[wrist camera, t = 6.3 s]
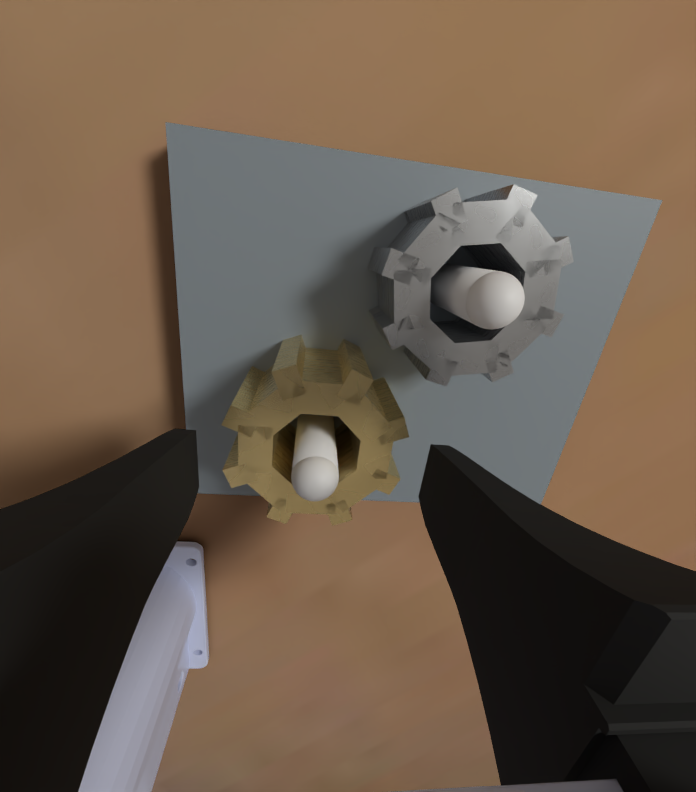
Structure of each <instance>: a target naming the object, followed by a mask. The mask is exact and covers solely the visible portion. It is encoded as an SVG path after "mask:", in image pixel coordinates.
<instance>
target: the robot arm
mask: <svg viewBox="0 0 696 792" xmlns="http://www.w3.org/2000/svg"><path fill="white" fill-rule="evenodd" d="M198 489H199V473H198V455H197V437H196V430H188V429H173V430H171V431H168V432H166V433H164V434H162V435H161V436H159V437H157V438H155V439H153V440H151V441H150V442H148V443H146V444H144V445H142V446H140V447H139V448H137V449H135V450H133V451H131V452H129V453H128V454H126V455H124V456H122V457H120V458H118V459H116V460H115V461H112V462H110V463H108V464H106V465H104V466H102V467H100V468H98V469H96V470H94V471H92V472H90V473H88V474H86V475H84V476H82V477H80V478H78V479H76V480H74V481H71V482H69V483H67V484H65V485H62V486H60V487H58V488H55V489H53V490H50V491H48V492H45V493H43V494H40V495H38V496H36V497H33V498H30V499H28V500H25V501H23V502H20V503H17V504H14V505H11V506H8V507H5V508H2V509H0V792H151V791H152V788H153V785H154V782H155V778H156V775H157V772H158V768H159V765H160V762H161V758H162V755H163V752H164V749H165V745H166V742H167V739H168V735H169V732H170V729H171V726H172V722H173V719H174V716H175V712H176V709H177V706H178V702H179V699H180V696H181V693H182V689H183V686H184V683H185V679H186V676H187V673H188V669H189V668H203V667H205V666H206V665H207V663H208V659H209V645H208V627H207V608H206V590H205V571H204V552H203V547H202V546H201V545H200V544H199V543H197V542H179V541H177V540H178V538H179V536H180V534H181V532H182V530H183V528H184V526H185V524H186V522H187V520H188V518H189V515H190V513H191V510H192V507H193V504H194V501H195V498H196V495H197V492H198ZM418 497H419V501H420V506H421V510H422V514H423V518H424V522H425V525H426V528H427V531H428V533H429V536H430V538H431V541H432V543H433V546H434V549H435V551H436V554H437V556H438V558H439V561H440V563H441V566H442V568H443V571H444V573H445V576H446V578H447V581H448V583H449V586H450V588H451V591H452V594H453V597H454V599H455V602H456V605H457V608H458V612H459V615H460V618H461V622H462V625H463V629H464V632H465V636H466V639H467V643H468V646H469V650H470V654H471V658H472V662H473V665H474V669H475V673H476V677H477V681H478V685H479V689H480V693H481V697H482V701H483V706H484V710H485V714H486V718H487V722H488V727H489V731H490V735H491V740H492V745H493V749H494V754H495V759H496V764H497V768H498V773H499V778H500V782H501V786H480V787H462V788H445V789H428V790H410V791H393V792H696V571H693V570H690V569H687V568H684V567H681V566H678V565H675V564H672V563H669V562H666V561H664V560H661V559H659V558H656V557H653V556H651V555H648V554H645V553H643V552H640V551H638V550H635V549H633V548H630V547H628V546H625V545H623V544H620V543H618V542H616V541H613V540H611V539H609V538H607V537H604V536H602V535H600V534H598V533H596V532H593V531H591V530H589V529H587V528H585V527H583V526H580V525H578V524H576V523H574V522H572V521H570V520H568V519H566V518H565V517H563V516H561V515H559V514H557V513H555V512H553V511H551V510H550V509H548V508H546V507H544V506H542V505H541V504H539V503H537V502H535V501H534V500H532V499H530V498H529V497H527V496H525V495H524V494H522V493H521V492H519V491H517V490H516V489H514V488H513V487H511V486H510V485H508V484H506V483H505V482H503V481H502V480H500V479H499V478H497V477H496V476H495V475H493V474H492V473H490V472H489V471H487V470H486V469H484V468H483V467H481V466H480V465H479V464H477V463H476V462H474V461H473V460H471V459H470V458H469V457H467V456H466V455H464V454H463V453H461V452H460V451H458V450H456V449H455V448H453V447H451V446H449V445H434V444H431V445H430V449H429V454H428V458H427V462H426V466H425V471H424V475H423V479H422V483H421V488H420V492H419V496H418ZM192 559H195V560H192Z"/></svg>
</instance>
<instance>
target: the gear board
mask: <svg viewBox="0 0 696 792" xmlns="http://www.w3.org/2000/svg"><path fill="white" fill-rule="evenodd" d="M166 136H167V151H168V166H169V181H170V196H171V211H172V226H173V241H174V256H175V271H176V286H177V301H178V316H179V331H180V346H181V360H182V375H183V390H184V405H185V420H186V429H188V430H196V437H197V455H198V473H199V489H198V492H197V493H203V494H227V495H252V496H261V495H260V494H259V493H257V492H256V491H255V490H254V489H253V488H252V487H250V486H249V485H248V484H244V485H241V486H237V487H234V488H231V486H230V484H229V482H228V480H227V478H226V476H225V474H224V473H223V471H222V470H223V467H224V465H225V463H226V460H227V458H228V455H229V453H230V451H231V448H232V446H233V444H234V441H235V439H236V437H237V434H238V432H237V431H234V430H232V429H229V428H227V427H225V426H222V422H223V420H224V418H225V416H226V414H227V412H228V410H229V408H230V406H231V404H232V402H233V400H234V398H235V396H236V394H237V393H238V391H239V389H240V387H241V385H242V383H243V382H244V380H245V378H246V376H247V374H248V372H249V370H250V369H251V367H252V366H253V367H255V368H257V369H259V370H261V371H263V372H265V371H266V370H268V369H269V368H270V367H271V366H273V365H274V363H275V361H276V358H277V355H278V352H279V350H280V347H281V344H282V341H283V340H285V339H288V338H292V337H295V336H298V335H302V338H303V341H304V344H305V347H306V348H316V349H327V350H337V349H338V348H339V346H340V344H341V342H342V340H343V339H345V340H347V341H349V342H351V343H353V344H355V345H357V346H358V347H360V349H361V351H362V353H363V356H364V358H365V361H366V363H367V365H368V368H369V370H370V372H371V375H372V377H373V380H376V379H379V378H383V377H384V378H385V380H386V382H387V384H388V386H389V388H390V390H391V392H392V394H393V396H394V398H395V400H396V402H397V404H398V406H399V408H400V410H401V412H402V413H403V415H404V417H405V421H406V426H407V430H408V434H409V437H408V438H405V439H401V440H398V441H394V442H393V446H392V451H391V453H392V456H393V459H394V462H395V465H396V467H397V470H398V473H399V476H400V481H399V482H398V483H397V485H396V486H395V488H394V489H393V491H392V492H391V493H390V495H388V494H386V493H383V492H381V491H378V490H375V491H373V492H372V493H370V494H369V495H367V496H366V497H365V498H363V499H362V500H375V501H399V502H420V501H419V497H418V496H419V492H420V488H421V483H422V479H423V475H424V471H425V466H426V462H427V458H428V454H429V449H430V445H431V444H434V445H449V446H451V447H453V448H455V449H456V450H458V451H460V452H461V453H463V454H464V455H466V456H467V457H469V458H470V459H471V460H473V461H474V462H476V463H477V464H479V465H480V466H481V467H483V468H484V469H486V470H487V471H489V472H490V473H492V474H493V475H495V476H496V477H497V478H499V479H500V480H502V481H503V482H505V483H506V484H508V485H510V486H511V487H513V488H514V489H516V490H517V491H519V492H521V493H522V494H524V495H525V496H527V497H529V498H530V499H532V500H534V501H535V502H537V503H539V504H541V502H542V500H543V497H544V495H545V492H546V490H547V487H548V485H549V482H550V480H551V477H552V475H553V472H554V470H555V467H556V465H557V462H558V460H559V457H560V455H561V452H562V450H563V447H564V445H565V442H566V440H567V437H568V435H569V432H570V430H571V427H572V425H573V422H574V420H575V417H576V415H577V412H578V410H579V407H580V405H581V402H582V400H583V397H584V395H585V392H586V390H587V387H588V385H589V382H590V380H591V377H592V375H593V372H594V370H595V367H596V365H597V362H598V360H599V357H600V355H601V352H602V350H603V347H604V345H605V342H606V340H607V337H608V335H609V332H610V330H611V327H612V325H613V322H614V320H615V317H616V315H617V312H618V310H619V307H620V305H621V302H622V300H623V297H624V295H625V292H626V290H627V287H628V285H629V282H630V280H631V277H632V275H633V272H634V270H635V267H636V265H637V262H638V260H639V257H640V255H641V252H642V250H643V247H644V245H645V242H646V240H647V237H648V235H649V232H650V230H651V227H652V225H653V222H654V220H655V217H656V215H657V212H658V210H659V207H660V205H661V202H662V200H657V199H650V198H644V197H637V196H631V195H625V194H618V193H612V192H606V191H599V190H593V189H587V188H580V187H574V186H568V185H561V184H555V183H549V182H542V181H536V180H529V179H523V178H517V177H510V176H504V175H498V174H491V173H485V172H479V171H472V170H466V169H460V168H453V167H447V166H441V165H434V164H428V163H422V162H415V161H409V160H402V159H396V158H390V157H383V156H377V155H371V154H364V153H358V152H352V151H345V150H339V149H333V148H326V147H320V146H314V145H307V144H301V143H294V142H288V141H282V140H275V139H269V138H263V137H256V136H250V135H244V134H237V133H231V132H225V131H218V130H212V129H206V128H199V127H193V126H186V125H180V124H174V123H167V122H166ZM513 184H515V185H517V186H519V187H521V188H523V189H526V190H528V191H530V192H532V193H534V194H537V197H536V199H535V201H534V203H533V206H532V208H531V211H532V213H533V214H534V215H535V217H536V218H537V219H538V220H539V222H540V223H541V224H542V226H543V227H544V228H545V229H546V231H547V232H548V233H549V235H550V236H551V237H562V236H569V240H570V245H571V250H572V255H573V260H574V262H572V263H570V264H568V265H566V266H564V267H562V268H561V272H560V278H559V284H558V290H557V296H556V302H555V308H554V311H556V312H559V313H562V314H564V316H563V318H562V320H561V321H560V323H559V325H558V327H557V328H556V330H555V332H554V334H553V336H552V337H549V336H546V335H544V334H541V335H540V336H538V337H537V338H536V339H535V340H534V341H533V342H532V343H531V344H530V345H529V346H528V347H527V348H526V349H525V350H524V351H523V352H522V353H520V354H519V355H518V356H517V357H516V358H515V359H514V360H513V361H512V362H511V364H512V368H513V371H514V373H512V374H510V375H507V376H505V377H503V378H501V379H499V380H497V381H495V382H491V381H490V380H488V379H487V378H486V377H485V376H483V375H482V374H481V373H480V374H468V375H457V376H451V378H450V380H449V383H448V385H447V386H444V385H440V384H437V383H434V382H431V381H428V380H426V379H425V378H424V377H423V376H422V375H421V373H420V372H419V371H418V370H417V368H416V367H415V366H414V365H413V363H412V362H411V361H410V360H409V358H408V357H407V356H406V355H405V353H404V350H405V348H406V346H405V345H402V346H400V347H398V348H396V349H394V350H392V349H391V347H390V346H389V345H388V343H387V342H386V341H385V339H384V338H383V336H382V335H381V334H380V332H379V331H378V329H377V328H376V326H375V324H374V321H373V319H372V317H371V315H370V313H369V310H370V309H372V308H374V307H376V306H378V305H377V273H376V272H374V271H372V270H369V269H367V267H368V264H369V261H370V258H371V255H372V252H373V249H374V247H379V248H387V247H388V246H389V245H390V243H391V242H392V241H393V240H394V239H395V237H396V236H397V235H398V234H399V233H400V232H401V230H402V229H403V228H404V227H405V226H406V225H407V223H408V221H407V219H406V216H405V213H404V212H405V211H406V210H408V209H410V208H412V207H414V206H416V205H418V204H420V203H421V202H423V201H426V200H428V199H431V198H433V197H435V196H438V195H440V194H443V193H445V192H447V191H450V190H452V189H455V188H457V187H458V191H459V194H460V197H461V201H462V202H466V199H468V198H471V197H474V196H477V195H480V194H484V193H487V192H490V191H493V190H496V189H500V188H503V187H506V186H509V185H513ZM524 301H525V295H524V290H523V287H522V285H521V283H520V282H519V281H518V279H517V278H515V277H514V276H513V275H511V274H509V273H506V272H502V271H495V270H488V269H481V268H479V265H478V264H477V263H476V262H475V261H474V260H473V259H472V257H471V256H470V255H469V254H468V253H467V252H466V251H465V250H464V249H463V247H462V246H460V247H459V248H458V249H457V250H456V251H455V253H454V254H453V255H452V256H451V257H450V258H449V259H448V260H447V261H446V262H445V264H444V265H443V266H442V267H441V268H440V269H439V270H438V271H437V272H436V273H435V275H434V276H433V277H432V278H431V293H430V320H431V321H432V322H439V321H452V320H455V319H456V318H457V317H458V316H459V317H461V318H463V319H464V320H466V321H468V322H470V323H472V324H474V325H476V326H478V327H481V328H484V329H499V328H502V327H505V326H507V325H509V324H510V323H512V322H513V321H514V320H515V319H516V318H517V317H518V316H519V314H520V313H521V311H522V308H523V306H524ZM343 423H344V422H343V421H342V420H341V419H340V418H339V417H338V416H326V415H312V414H300V415H299V416H297V417H296V418H295V419H294V420H292V421H291V422H290V424H291V425H292V426H293V427H294V428H295V429H296V438H295V447H294V456H293V465H292V473H291V481H292V485H293V488H294V490H295V491H296V493H297V494H298V495H299V496H300V497H302V498H303V499H305V500H308V501H321V500H324V499H326V498H328V497H329V496H330V495H331V494H332V493H333V492H334V491H335V489H336V487H337V485H338V481H339V471H338V460H337V450H336V439H335V429H336V428H338V427H339V426H340V425H342V424H343Z"/></svg>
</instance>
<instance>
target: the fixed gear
mask: <svg viewBox="0 0 696 792" xmlns="http://www.w3.org/2000/svg"><path fill="white" fill-rule="evenodd" d="M536 197H537V194H534V193H532V192H530V191H528V190H526V189H523V188H521V187H519V186H517V185H515V184H513V185H509V186H506V187H503V188H500V189H496V190H493V191H490V192H487V193H484V194H480V195H477V196H474V197H471V198H468V199H466V202H462V201H461V197H460V194H459V191H458V187H457V188H455V189H452V190H450V191H447V192H445V193H443V194H440V195H438V196H435V197H433V198H431V199H428V200H426V201H423V202H421V203H420V204H418V205H416V206H414V207H412V208H410V209H408V210H406V211H405V212H404V213H405V216H406V219H407V221H408V223H407V225H406V226H405V227H404V228H403V229H402V230H401V232H400V233H399V234H398V235H397V236H396V237H395V239H394V240H393V241H392V242H391V243H390V245H389V246H388V247H387V248H379V247H374V249H373V252H372V255H371V258H370V261H369V264H368V267H367V269H369V270H372V271H374V272H376V273H377V305H378V306H376V307H374V308H372V309H370V310H369V313H370V315H371V317H372V319H373V321H374V324H375V326H376V328H377V329H378V331H379V332H380V334H381V335H382V336H383V338H384V339H385V341H386V342H387V343H388V345H389V346H390V347H391V349H392V350H394V349H396V348H398V347H400V346H402V345H405V346H406V348H405V350H404V353H405V355H406V356H407V357H408V358H409V360H410V361H411V362H412V363H413V365H414V366H415V367H416V368H417V370H418V371H419V372H420V373H421V375H422V376H423V377H424V378H425V379H426V380H428V381H431V382H434V383H437V384H440V385H444V386H447V385H448V383H449V380H450V378H451V376H457V375H468V374H480V373H481V374H482V375H483V376H485V377H486V378H487V379H488V380H490V381H491V382H495V381H497V380H499V379H501V378H503V377H505V376H507V375H510V374H512V373H514V371H513V368H512V364H511V362H512V361H513V360H514V359H515V358H516V357H517V356H518V355H519V354H520V353H522V352H523V351H524V350H525V349H526V348H527V347H528V346H529V345H530V344H531V343H532V342H533V341H534V340H535V339H536V338H537V337H538V336H540V335H541V334H544V335H546V336H549V337H552V336H553V334H554V332H555V330H556V328H557V327H558V325H559V323H560V321H561V320H562V318H563V316H564V314H562V313H559V312H556V311H554V308H555V302H556V296H557V290H558V284H559V278H560V272H561V268H562V267H564V266H566V265H568V264H570V263H572V262H574V260H573V255H572V250H571V245H570V240H569V236H562V237H551V236H550V235H549V233H548V232H547V231H546V229H545V228H544V227H543V226H542V224H541V223H540V222H539V220H538V219H537V218H536V217H535V215H534V214H533V213H532V211H531V208H532V206H533V203H534V201H535V199H536ZM460 246H462V247H463V249H464V250H465V251H466V252H467V253H468V254H469V255H470V256H471V257H472V259H473V260H474V261H475V262H476V263H477V264H478V265H479V268H481V269H488V270H495V271H502V272H506V273H509V274H511V275H513V276H514V277H515V278H517V279H518V281H519V282H520V283H521V285H522V287H523V290H524V295H525V301H524V306H523V308H522V311H521V313H520V314H519V316H518V317H517V318H516V319H515V320H514V321H513V322H512V323H510V324H509V325H507V326H505V327H502V328H499V329H484V328H481V327H478V326H476V325H474V324H472V323H470V322H468V321H466V320H464V319H463V318H461V317H459V316H458V317H457V318H456V319H455V320H452V321H439V322H432V321H431V320H430V293H431V278H432V277H433V276H434V275H435V273H436V272H437V271H438V270H439V269H440V268H441V267H442V266H443V265H444V264H445V262H446V261H447V260H448V259H449V258H450V257H451V256H452V255H453V254H454V253H455V251H456V250H457V249H458V248H459V247H460Z"/></svg>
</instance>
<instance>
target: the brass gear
mask: <svg viewBox="0 0 696 792" xmlns="http://www.w3.org/2000/svg"><path fill="white" fill-rule="evenodd" d="M300 414H312V415H326V416H338V417H339V418H340V419H341V420H342V421H343V422H344V423H343V424H342V425H340V426H339V427H338V428H336V429H335V439H336V450H337V460H338V471H339V481H338V485H337V487H336V489H335V491H334V492H333V493H332V494H331V495H330V496H329V497H328V498H326V499H324V500H321V501H308V500H305V499H303V498H302V497H300V496H299V495H298V494H297V493H296V491H295V490H294V488H293V485H292V481H291V473H292V465H293V456H294V447H295V438H296V429H295V428H294V427H293V426H292V425H291V424H290V422H291V421H292V420H294V419H295V418H296V417H297V416H299V415H300ZM222 426H225V427H227V428H229V429H232V430H234V431H237V432H238V434H237V437H236V439H235V441H234V444H233V446H232V448H231V451H230V453H229V455H228V458H227V460H226V463H225V465H224V467H223V470H222V471H223V473H224V474H225V476H226V478H227V480H228V482H229V484H230V486H231V488H234V487H237V486H241V485H244V484H248V485H249V486H250V487H252V488H253V489H254V490H255V491H256V492H257V493H259V494H260V495H261V496H262V497H263V498H264V499H266V500H267V501H268V502H269V505H268V511H267V516H266V517H268V518H270V519H273V520H276V521H279V522H282V523H284V524H286V523H287V522H288V520H289V518H290V517H291V515H292V514H293V513H303V514H328V516H329V518H330V521H331V524H332V526H333V525H336V524H340V523H344V522H347V521H351V520H352V513H351V506H353V505H354V504H356V503H357V502H359V501H360V500H362V499H363V498H365V497H366V496H367V495H369V494H370V493H372V492H373V491H375V490H378V491H381V492H383V493H386V494H388V495H390V493H391V492H392V491H393V489H394V488H395V486H396V485H397V483H398V482H399V481H400V476H399V473H398V470H397V467H396V465H395V462H394V459H393V456H392V453H391V451H392V446H393V442H394V441H398V440H401V439H405V438H408V437H409V434H408V430H407V426H406V421H405V417H404V415H403V413H402V412H401V410H400V408H399V406H398V404H397V402H396V400H395V398H394V396H393V394H392V392H391V390H390V388H389V386H388V384H387V382H386V380H385V378H384V377H383V378H379V379H376V380H373V377H372V375H371V372H370V370H369V368H368V365H367V363H366V361H365V358H364V356H363V353H362V351H361V349H360V347H358V346H357V345H355V344H353V343H351V342H349V341H347V340H345V339H343V340H342V342H341V344H340V346H339V348H338V349H337V350H327V349H316V348H306V347H305V344H304V341H303V338H302V335H298V336H295V337H292V338H288V339H285V340H283V341H282V344H281V347H280V350H279V352H278V355H277V358H276V361H275V363H274V365H273V366H271V367H270V368H269V369H268V370H266V371H265V372H263V371H261V370H259V369H257V368H255V367H253V366H252V367H251V369H250V370H249V372H248V374H247V376H246V378H245V380H244V382H243V383H242V385H241V387H240V389H239V391H238V393H237V394H236V396H235V398H234V400H233V402H232V404H231V406H230V408H229V410H228V412H227V414H226V416H225V418H224V420H223V422H222Z"/></svg>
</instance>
